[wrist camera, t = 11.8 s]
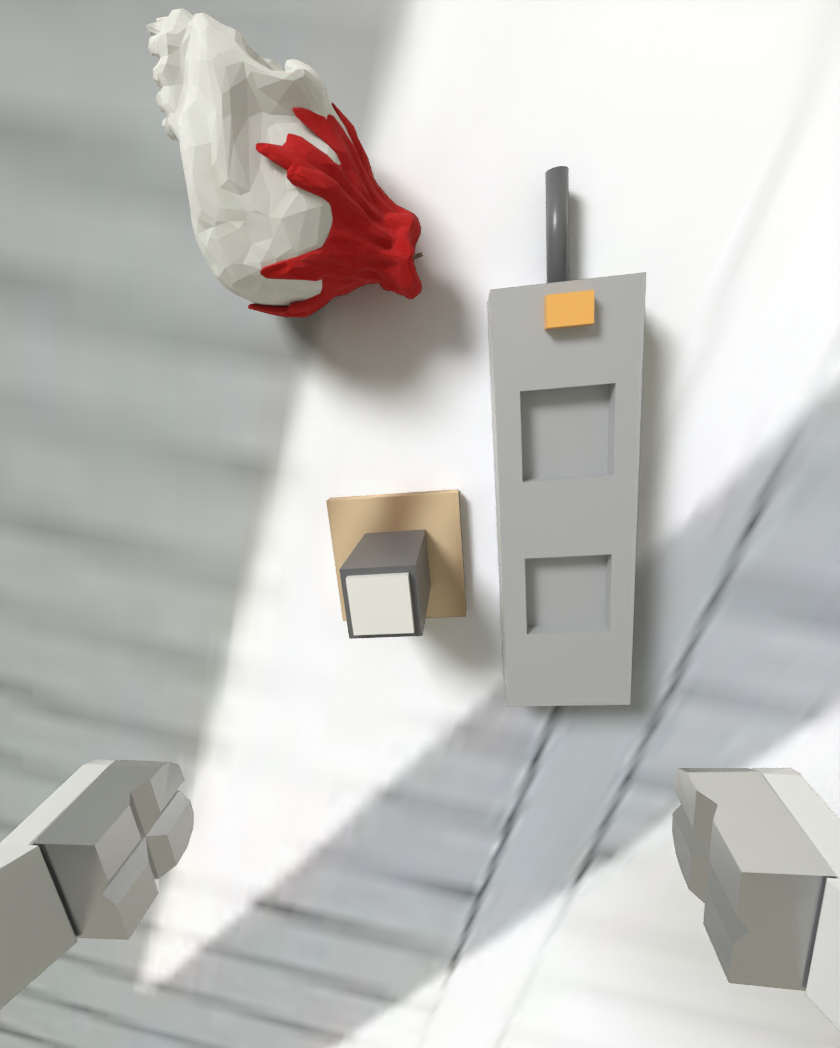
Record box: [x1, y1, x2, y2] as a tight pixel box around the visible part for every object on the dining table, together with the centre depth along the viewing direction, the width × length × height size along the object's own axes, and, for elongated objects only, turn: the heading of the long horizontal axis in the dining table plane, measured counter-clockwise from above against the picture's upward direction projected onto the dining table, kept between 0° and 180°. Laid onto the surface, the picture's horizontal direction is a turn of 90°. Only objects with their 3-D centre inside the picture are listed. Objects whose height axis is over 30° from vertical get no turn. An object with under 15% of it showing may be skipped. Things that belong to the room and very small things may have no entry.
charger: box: [339, 529, 431, 639], centre depth 29 cm, size 4×4×7 cm
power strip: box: [487, 166, 646, 707], centre depth 28 cm, size 8×32×4 cm, turn 4°
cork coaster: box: [326, 490, 466, 621], centre depth 33 cm, size 9×9×1 cm
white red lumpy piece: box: [147, 9, 423, 317], centre depth 24 cm, size 9×11×15 cm
